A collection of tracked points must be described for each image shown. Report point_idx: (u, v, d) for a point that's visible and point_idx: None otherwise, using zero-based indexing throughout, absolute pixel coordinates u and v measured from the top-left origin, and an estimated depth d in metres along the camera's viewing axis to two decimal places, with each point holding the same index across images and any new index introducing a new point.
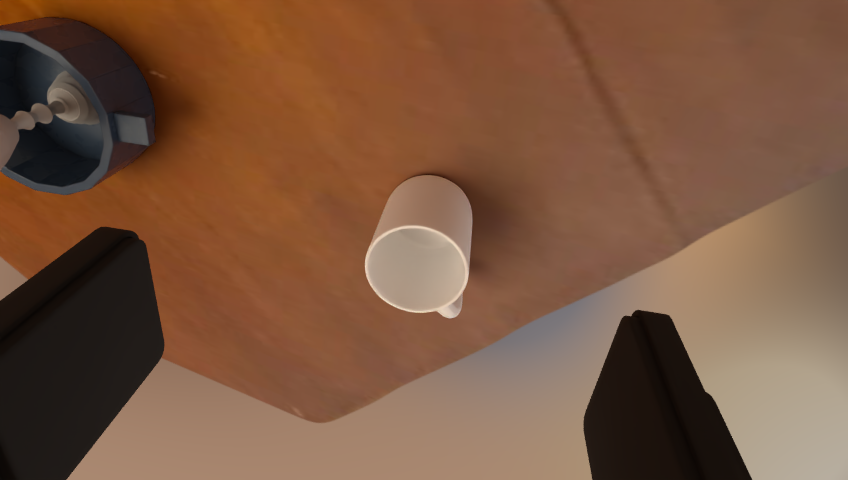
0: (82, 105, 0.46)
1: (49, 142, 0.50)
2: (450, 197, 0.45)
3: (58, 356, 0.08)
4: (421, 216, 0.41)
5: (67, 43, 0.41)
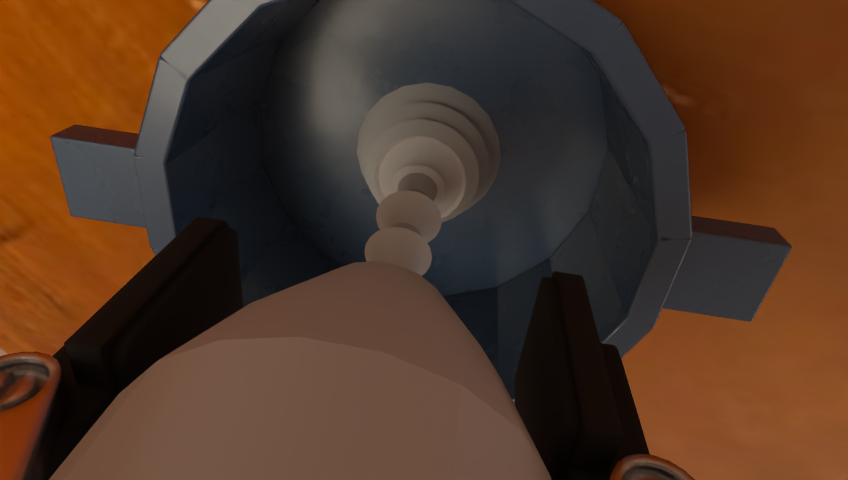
0: (470, 183, 0.17)
1: (316, 258, 0.21)
2: None
3: (176, 334, 0.09)
4: None
5: None
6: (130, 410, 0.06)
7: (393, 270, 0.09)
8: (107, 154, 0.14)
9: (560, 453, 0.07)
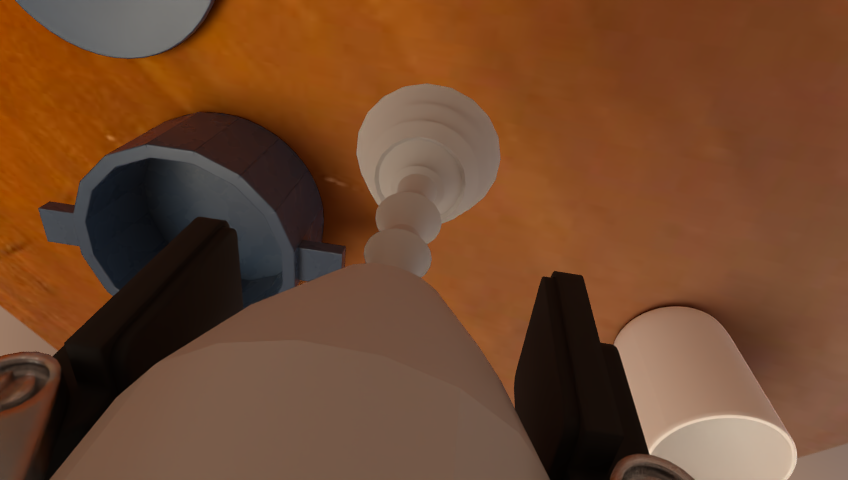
0: (469, 184, 0.17)
1: None
2: (731, 347, 0.34)
3: (176, 334, 0.09)
4: (733, 394, 0.30)
5: (244, 158, 0.30)
6: (128, 414, 0.05)
7: (392, 272, 0.09)
8: (62, 215, 0.32)
9: (560, 453, 0.07)
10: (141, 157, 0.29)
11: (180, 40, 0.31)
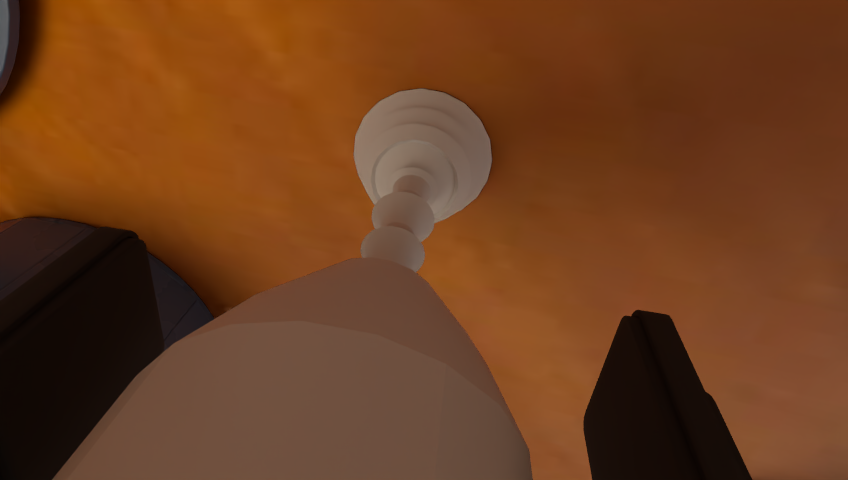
0: (462, 185, 0.17)
1: None
2: None
3: (58, 356, 0.08)
4: None
5: None
6: (150, 386, 0.06)
7: (387, 265, 0.10)
8: None
9: None
10: None
11: None
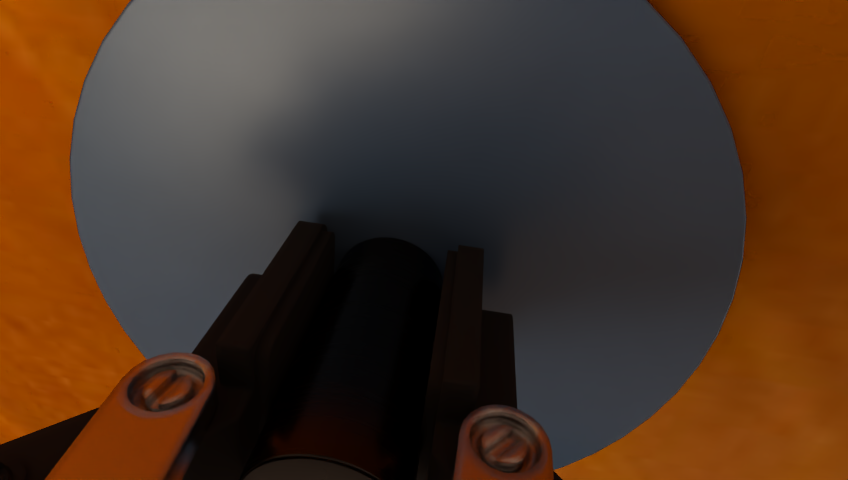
0: None
1: None
2: None
3: (296, 335, 0.09)
4: None
5: None
6: None
7: None
8: None
9: (427, 406, 0.08)
10: None
11: None
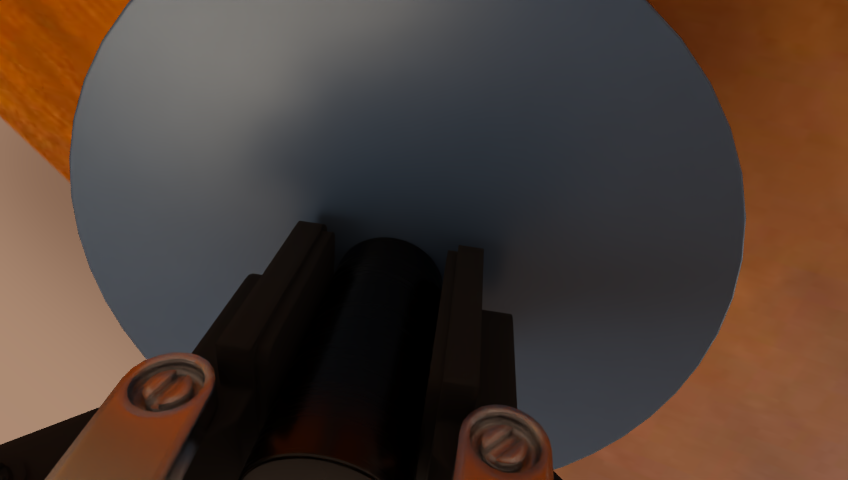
0: None
1: None
2: None
3: (296, 335, 0.09)
4: None
5: None
6: None
7: None
8: None
9: (427, 406, 0.08)
10: None
11: None
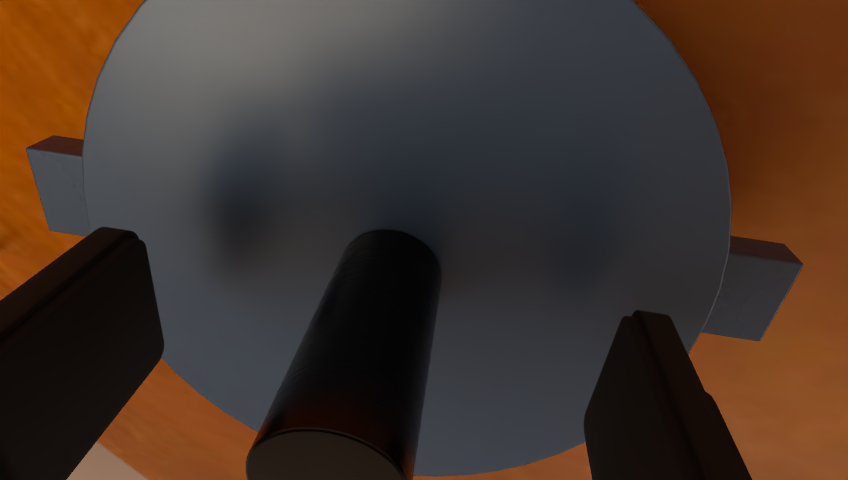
0: None
1: None
2: None
3: (58, 356, 0.08)
4: None
5: None
6: None
7: None
8: None
9: None
10: None
11: (526, 463, 0.15)
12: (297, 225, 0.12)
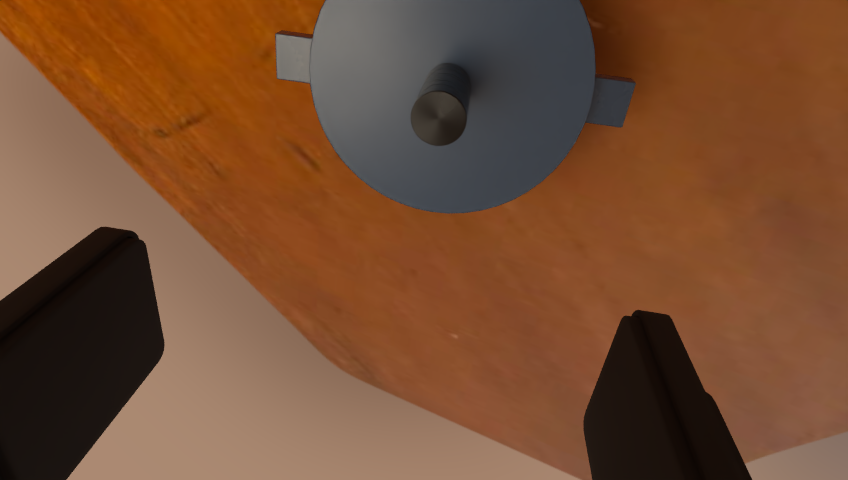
0: None
1: None
2: None
3: (58, 356, 0.08)
4: None
5: None
6: None
7: None
8: (303, 42, 0.28)
9: None
10: None
11: (511, 199, 0.30)
12: (407, 62, 0.27)
